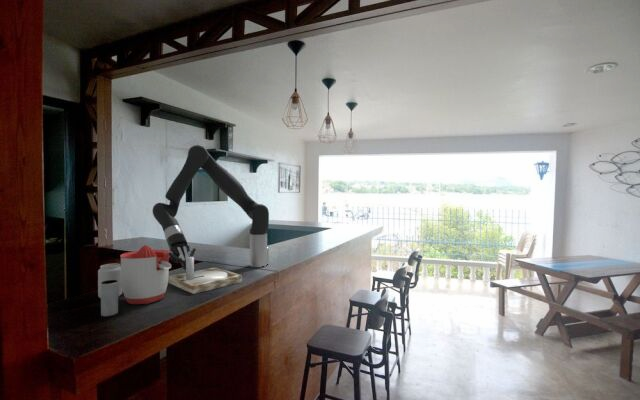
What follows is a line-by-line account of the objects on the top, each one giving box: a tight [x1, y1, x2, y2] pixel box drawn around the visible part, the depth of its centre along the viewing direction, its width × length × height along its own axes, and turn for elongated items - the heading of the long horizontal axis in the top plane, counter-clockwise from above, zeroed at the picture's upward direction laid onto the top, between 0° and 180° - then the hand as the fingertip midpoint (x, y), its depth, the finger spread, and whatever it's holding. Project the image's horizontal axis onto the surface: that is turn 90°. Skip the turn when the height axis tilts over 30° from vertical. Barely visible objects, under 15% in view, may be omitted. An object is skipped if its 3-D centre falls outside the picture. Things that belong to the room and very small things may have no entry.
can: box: [97, 262, 124, 299], centre depth 114 cm, size 8×8×12 cm
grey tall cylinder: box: [100, 280, 119, 317], centre depth 98 cm, size 4×4×10 cm
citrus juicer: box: [119, 244, 172, 305], centre depth 111 cm, size 16×17×20 cm
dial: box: [183, 256, 227, 284], centre depth 133 cm, size 18×18×10 cm
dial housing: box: [168, 266, 243, 295], centre depth 133 cm, size 22×22×3 cm
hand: (187, 268), depth 131 cm, fingers closed
